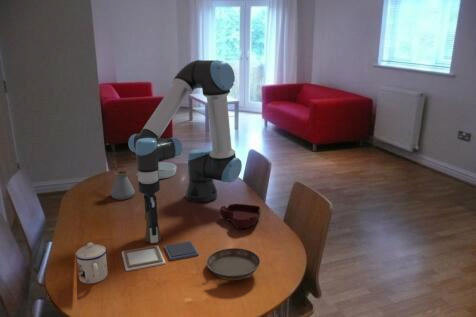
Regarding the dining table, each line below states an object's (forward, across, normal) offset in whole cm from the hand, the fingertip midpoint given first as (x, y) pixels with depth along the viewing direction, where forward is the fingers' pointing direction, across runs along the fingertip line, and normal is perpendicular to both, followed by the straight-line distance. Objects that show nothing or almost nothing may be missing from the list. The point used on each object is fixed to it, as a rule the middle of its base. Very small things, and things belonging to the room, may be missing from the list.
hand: (152, 238), depth 156 cm
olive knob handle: (0, 0, 0) cm, 1 cm away
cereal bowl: (+1, -74, +18) cm, 76 cm away
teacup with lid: (0, +21, -22) cm, 30 cm away
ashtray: (+1, -4, +39) cm, 39 cm away
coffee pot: (+1, -55, -6) cm, 55 cm away
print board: (0, +13, -6) cm, 14 cm away
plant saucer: (+1, +31, +21) cm, 37 cm away
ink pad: (+1, +13, +8) cm, 15 cm away
